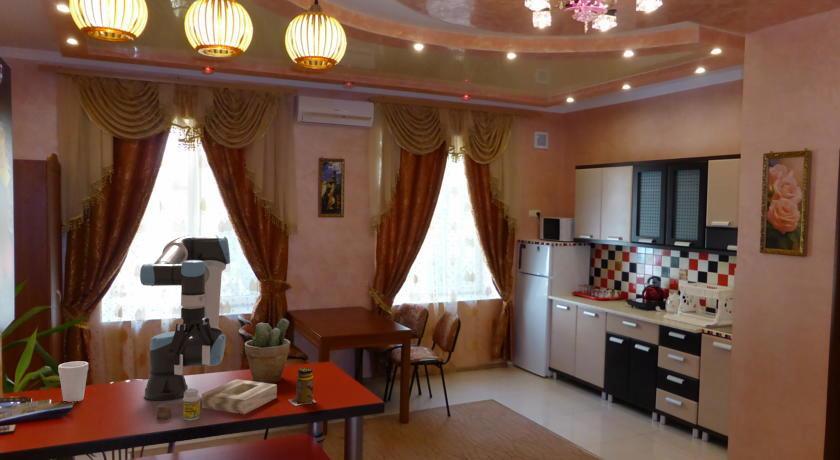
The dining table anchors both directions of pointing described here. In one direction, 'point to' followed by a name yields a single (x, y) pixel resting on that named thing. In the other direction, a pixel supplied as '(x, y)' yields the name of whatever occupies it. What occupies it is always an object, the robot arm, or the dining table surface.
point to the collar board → (239, 396)
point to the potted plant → (268, 352)
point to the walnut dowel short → (163, 411)
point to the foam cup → (73, 380)
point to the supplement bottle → (191, 405)
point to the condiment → (304, 387)
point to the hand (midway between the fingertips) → (192, 369)
